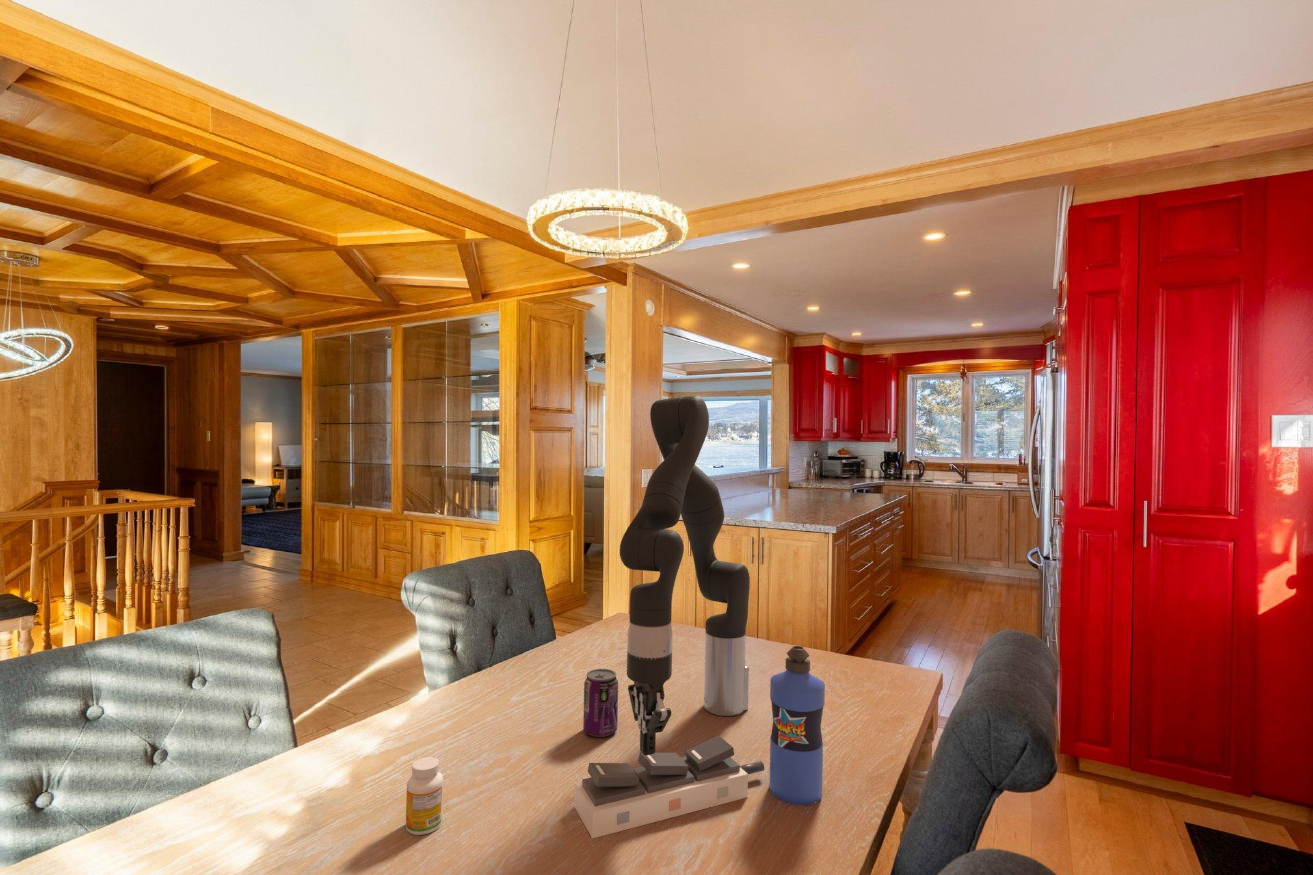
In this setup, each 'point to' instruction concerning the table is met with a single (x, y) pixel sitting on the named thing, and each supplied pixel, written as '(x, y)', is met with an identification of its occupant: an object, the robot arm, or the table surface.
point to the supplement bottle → (424, 797)
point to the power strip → (660, 796)
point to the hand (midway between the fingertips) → (647, 752)
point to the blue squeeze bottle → (796, 732)
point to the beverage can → (600, 703)
